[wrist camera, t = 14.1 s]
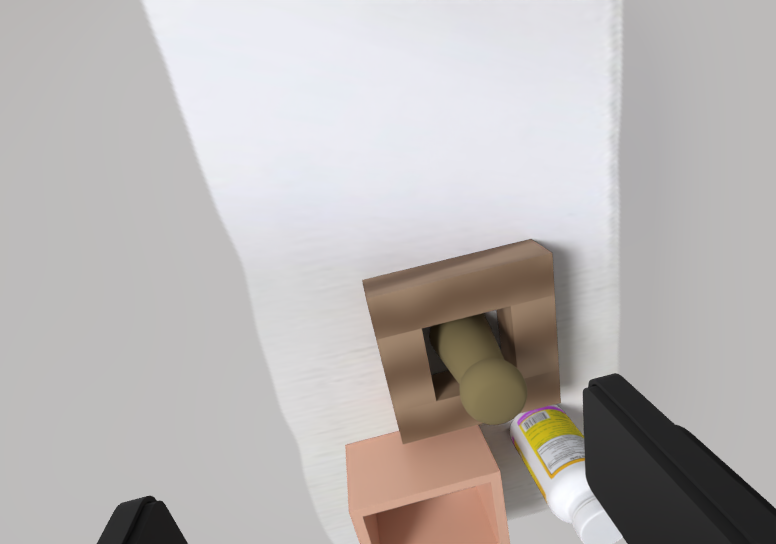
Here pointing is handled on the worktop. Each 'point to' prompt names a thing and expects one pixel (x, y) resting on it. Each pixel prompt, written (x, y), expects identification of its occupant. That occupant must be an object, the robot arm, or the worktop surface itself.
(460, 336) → the cork
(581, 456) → the supplement bottle
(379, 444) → the collar
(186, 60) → the worktop surface
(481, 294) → the socket block
